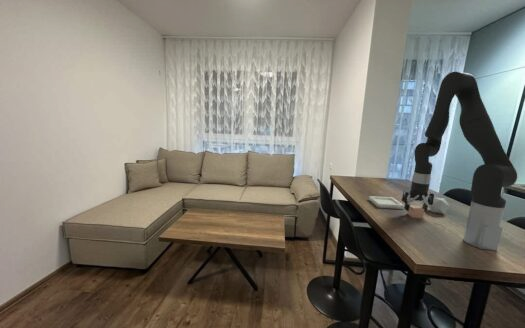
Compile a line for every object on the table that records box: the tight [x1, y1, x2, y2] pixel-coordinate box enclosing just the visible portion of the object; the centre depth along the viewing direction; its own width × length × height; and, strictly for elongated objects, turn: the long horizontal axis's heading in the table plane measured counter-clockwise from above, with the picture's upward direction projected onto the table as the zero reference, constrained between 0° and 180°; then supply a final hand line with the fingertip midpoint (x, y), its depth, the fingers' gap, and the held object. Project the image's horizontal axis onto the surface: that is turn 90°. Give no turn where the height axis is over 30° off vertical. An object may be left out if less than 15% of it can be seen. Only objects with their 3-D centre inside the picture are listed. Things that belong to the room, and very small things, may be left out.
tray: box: [368, 195, 405, 210], centre depth 132 cm, size 14×14×2 cm
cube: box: [407, 204, 425, 219], centre depth 115 cm, size 5×5×5 cm
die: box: [428, 196, 450, 215], centre depth 121 cm, size 8×9×10 cm
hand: (415, 210), depth 116 cm, fingers open, 8 cm apart
